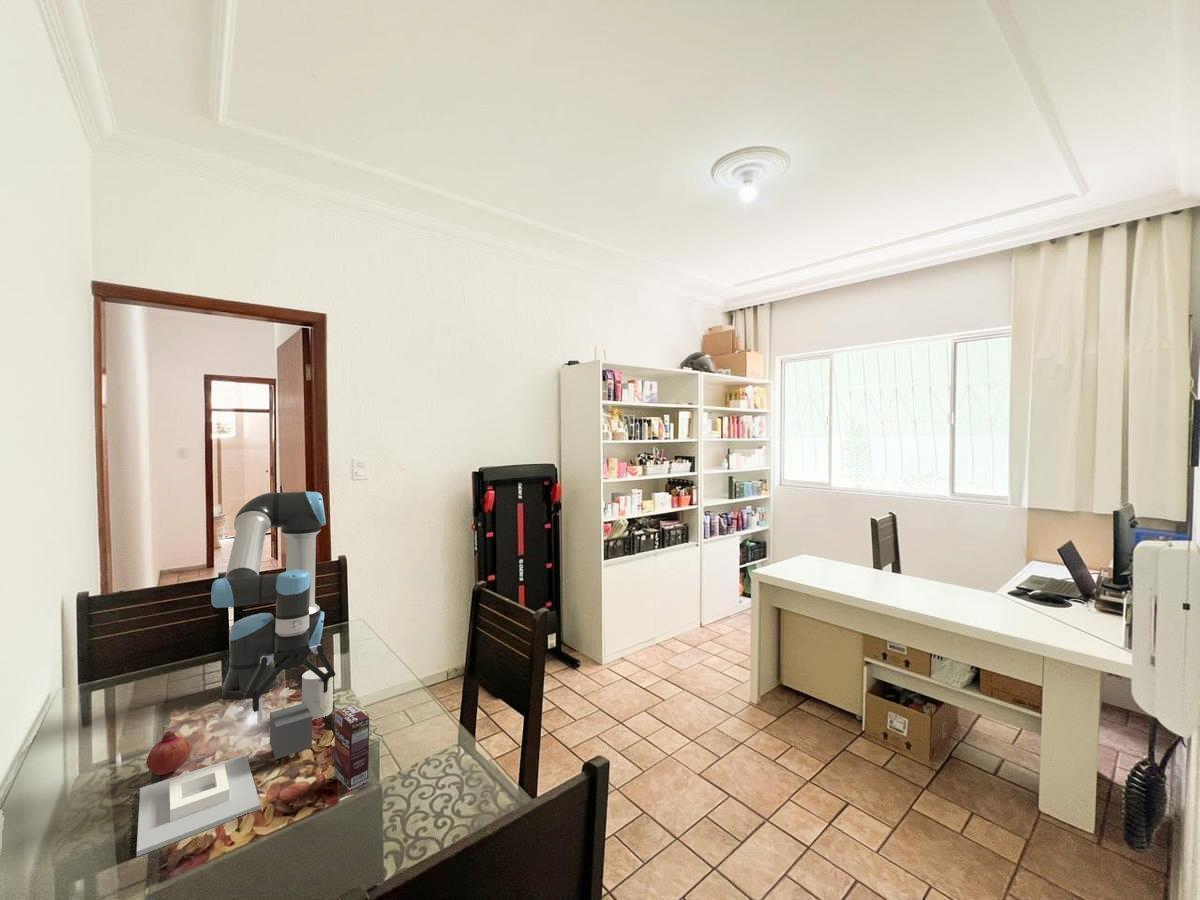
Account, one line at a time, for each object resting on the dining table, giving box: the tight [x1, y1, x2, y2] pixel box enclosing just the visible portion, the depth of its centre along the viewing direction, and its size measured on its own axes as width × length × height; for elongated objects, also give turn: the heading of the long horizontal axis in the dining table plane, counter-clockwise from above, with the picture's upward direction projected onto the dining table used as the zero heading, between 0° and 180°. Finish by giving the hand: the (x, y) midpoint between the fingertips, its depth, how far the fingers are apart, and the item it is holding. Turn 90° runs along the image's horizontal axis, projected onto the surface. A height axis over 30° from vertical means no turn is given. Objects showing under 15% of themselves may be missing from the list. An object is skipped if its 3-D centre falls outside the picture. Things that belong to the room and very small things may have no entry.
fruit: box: [146, 730, 191, 776], centre depth 122 cm, size 8×8×10 cm
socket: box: [136, 754, 261, 857], centre depth 113 cm, size 24×20×4 cm
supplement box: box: [333, 704, 370, 791], centre depth 121 cm, size 9×5×16 cm, turn 50°
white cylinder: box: [301, 666, 334, 719], centre depth 151 cm, size 8×8×12 cm
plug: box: [269, 702, 313, 760], centre depth 130 cm, size 9×8×10 cm
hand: (291, 713), depth 130 cm, fingers open, 13 cm apart
